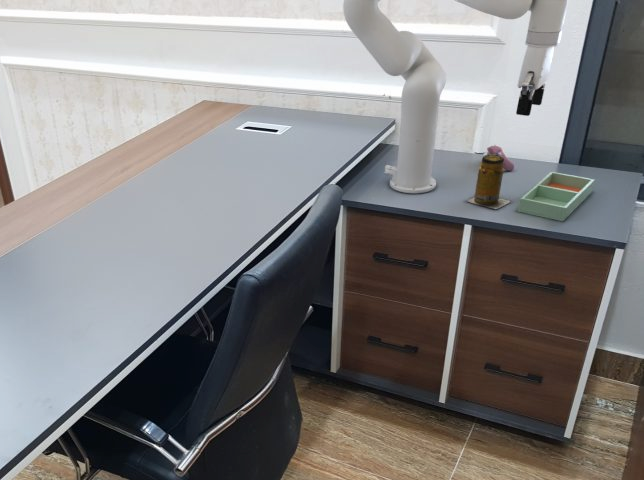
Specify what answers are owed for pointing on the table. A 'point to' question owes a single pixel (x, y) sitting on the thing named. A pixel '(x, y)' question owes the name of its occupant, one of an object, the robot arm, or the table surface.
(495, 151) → the pink animal figurine
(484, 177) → the condiment
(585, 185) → the tray
